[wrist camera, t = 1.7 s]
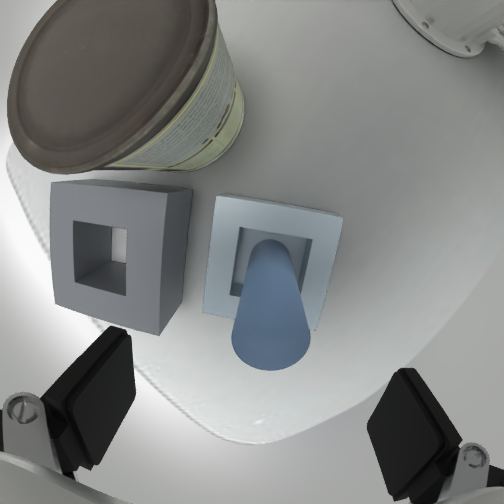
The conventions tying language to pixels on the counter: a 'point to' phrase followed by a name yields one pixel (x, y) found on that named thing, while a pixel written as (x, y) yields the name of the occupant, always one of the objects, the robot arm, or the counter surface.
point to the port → (137, 254)
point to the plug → (270, 311)
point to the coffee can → (125, 88)
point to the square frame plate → (261, 228)
